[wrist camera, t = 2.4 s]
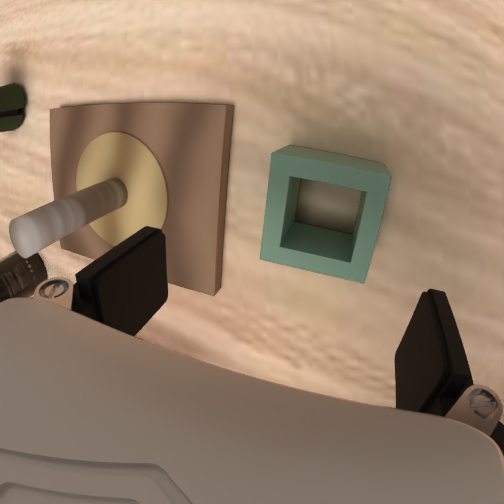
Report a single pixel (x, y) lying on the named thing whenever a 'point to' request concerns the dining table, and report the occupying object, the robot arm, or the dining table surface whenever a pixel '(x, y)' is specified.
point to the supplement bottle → (20, 276)
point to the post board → (137, 184)
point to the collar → (317, 238)
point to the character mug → (10, 107)
